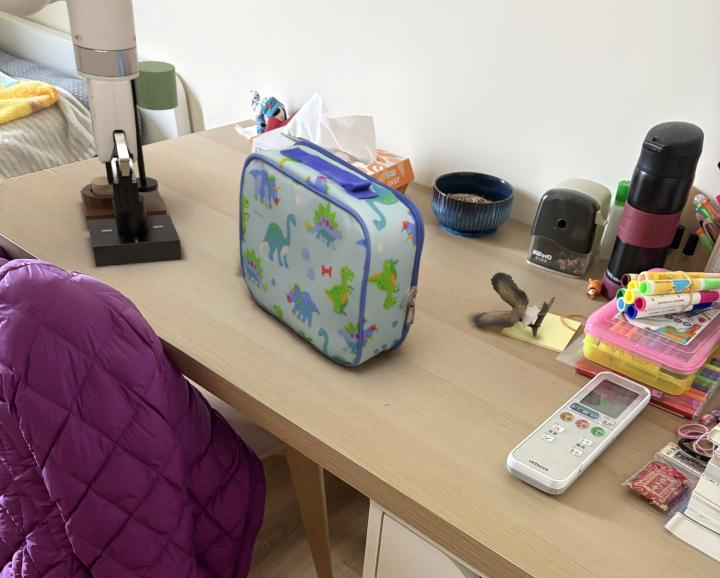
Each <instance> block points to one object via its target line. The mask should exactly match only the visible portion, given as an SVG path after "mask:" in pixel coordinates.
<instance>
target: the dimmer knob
mask: <svg viewBox="0 0 720 578" xmlns="http://www.w3.org/2000/svg"><path fill="white" fill-rule="evenodd" d="M139 201H140V211H139V212H123V213H118V212H117V211H116V208H115V201H114V197H113V198H112V202H113V208H114V214H115V220H116V227H117V231H118V232H119V233H121V234H123V235H130V236H134V235H141V234H144V233H145V232H147V231H148V222H147V214H146V206H145V199H144V197H143V196H142V195H140V194H139Z"/></svg>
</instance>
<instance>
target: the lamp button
mask: <svg viewBox="0 0 720 578" xmlns="http://www.w3.org/2000/svg"><path fill="white" fill-rule="evenodd" d="M90 184H91V186H92V192H93V193H94V194H97V195H110V194H113V186H112V185H110V184H109V183H108V180H107V175H106V176H102V175H101V176H95V177H93V178H91V179H90Z"/></svg>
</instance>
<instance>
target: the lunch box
mask: <svg viewBox="0 0 720 578" xmlns="http://www.w3.org/2000/svg"><path fill="white" fill-rule="evenodd" d="M239 183H240V184H239V193H240V197H239V196H238V203H239V205H238V212H239V214H238V234H239V235H238V236H239V237H238V239H239V240H238V241H239V257H240V268H242V273H243V274H242V277H243V280H244V283H245V285H246V288H247V290H248V292H249V293H250V296H251V297H252V299H253V300H254V302H256V303H257V305H259V306H260V307H261V308H263V309H264V310H265V311H267V312H268V313H269V314H271V315H272V316H274V317H275V318H277V319H278V320H279V321H281V322H282V323H283V324H285V325H286V326H287V327H289V328H290V329H292V330H293V331H294V332H295V334H296V335H298V336H300V337H302V338H303V339H304V340H306V341H307V342H309V343H310V344H311V345H312V346H313V347H315V349H317V350H318V351H319V352H320V353H322V354H323V355H324V356H326V357H327V358H329V359H330V360H332V361H333V362H336V363H338V364H341V365H342V366H347V367H356V366H359V365H361V364H363V363H365V362H366V361H368V360H369V359H371V358H373V357H375V356H377V355H379V354H380V353H381V352H385V351H388V352H394V351H395V350H397V349H399V348H400V347H401V346H402V345H403V343H404V342H405V340H406V338H407V337H408V334H409V331H410V329H411V326H412V325H413V324H414V320H415V319H414V318H415V313H416V299H417V294H418V283H419V275H420V265H421V258H422V254H423V248H424V244H425V237H426V235H425V234H426V233H425V231H426V229H425V223H424V219H423V213H422V212H421V210H420V208H419V206H418V205H417V204H416V203H415V202H414V200H413V199H411V198H410V197H408V196H407V195H406V194H404V193H402V192H400V191H399V190H397V189H395V188H393V187H391V186H389V185H388V184H385V183H383V182H382V181H380V180H378V179H377V178H375V177H374V176H371V175H369V174H368V173H367V172H364V171H363V170H361V169H360V168H359V167H357V166H355V165H353V164H351V162H348V161H347V160H345V159H343V158H342V157H340V156H338V155H336V154H334V153H333V152H330V151H329V150H327V149H326V148H324V147H322V146H320V145H318V144H316V143H315V142H313V141H309V140H299V141H296V142H295V143H293V145H289V146H284V147H279V148H272V149H266V150H265V149H263V150H258V151H254V152H251V153H249V154H248V155H247V156H246V158H245V159H244V162H243V165H242V170H241V175H240V182H239Z"/></svg>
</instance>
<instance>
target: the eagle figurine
mask: <svg viewBox="0 0 720 578" xmlns="http://www.w3.org/2000/svg"><path fill="white" fill-rule="evenodd" d="M490 281H491V283H490V284H491V286H492V289H493V290H494V291H495V292H496V293H497V294H498V295H499V297H500V299H501V300H502V301H503V302H505V303H506V304H507V305H509V306H510V307H511V308H512V309H511V310H491V311H489V312H488V311H487V312H482V313H479V314H477V315H475V316H473V322H474V324H476V326H478V327H481V328H482V327H484V328H486V327H499V328H502V329H508V328H512V327H514V325H516V324H517V322H519V323H522V327H523V328H526V327H528V328H531V332H532V336H533V337H534V338H536V337H537V335H538V331H539V328H541V327H542V326H541V325H542V323H543V321H544V319H545V317H547V314H548V312H549V310H550V309H551V307H552V305H553V303H554V302H555V299H556V296H552V298H551V299H550V300H549V301H548V303H547V302H546V301H543V304H542V306H541V308H540V309H539V306H538V304H534V305H532V306H529V307H528V305H529V303H530V298H528V295H527V293H526V292H525V290H522V289H521V288H519V287H518V284H517V283H516V282H515V280H514V279H513V276H512V275H510V274H509V273H505V272H500V271H497V272H496V273H495V274H493V275H492V278H490Z"/></svg>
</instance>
